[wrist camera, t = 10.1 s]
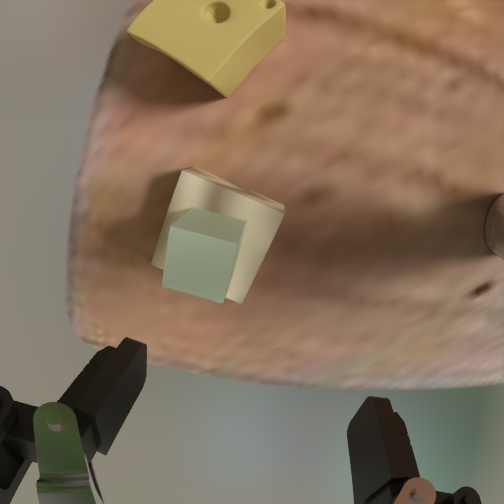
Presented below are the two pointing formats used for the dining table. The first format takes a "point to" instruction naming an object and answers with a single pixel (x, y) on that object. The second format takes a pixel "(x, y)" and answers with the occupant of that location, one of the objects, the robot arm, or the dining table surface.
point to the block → (202, 254)
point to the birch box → (229, 204)
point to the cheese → (212, 36)
